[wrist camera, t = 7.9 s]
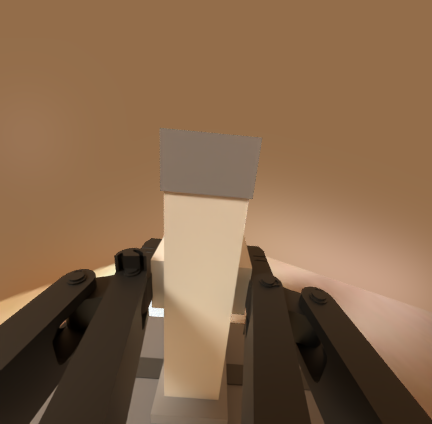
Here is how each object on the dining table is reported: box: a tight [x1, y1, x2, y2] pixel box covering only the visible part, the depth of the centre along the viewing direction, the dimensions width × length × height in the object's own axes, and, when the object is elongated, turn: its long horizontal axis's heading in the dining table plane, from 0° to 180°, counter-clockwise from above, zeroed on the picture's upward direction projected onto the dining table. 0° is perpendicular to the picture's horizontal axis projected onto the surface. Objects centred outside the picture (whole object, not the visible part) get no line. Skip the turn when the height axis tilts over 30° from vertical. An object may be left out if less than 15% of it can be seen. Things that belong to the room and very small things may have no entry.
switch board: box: [30, 316, 325, 424], centre depth 14 cm, size 24×8×2 cm, turn 89°
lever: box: [150, 128, 262, 424], centre depth 11 cm, size 4×6×14 cm
